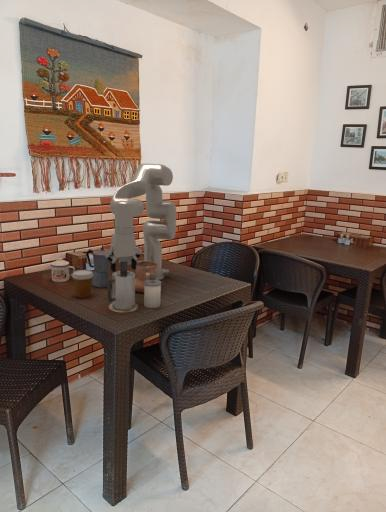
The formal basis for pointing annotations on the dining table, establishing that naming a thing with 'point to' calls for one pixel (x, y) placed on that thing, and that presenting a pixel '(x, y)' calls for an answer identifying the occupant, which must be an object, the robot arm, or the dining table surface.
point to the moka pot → (99, 267)
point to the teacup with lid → (60, 270)
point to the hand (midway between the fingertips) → (123, 270)
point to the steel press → (122, 291)
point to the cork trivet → (123, 311)
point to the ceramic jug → (144, 273)
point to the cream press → (152, 292)
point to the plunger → (123, 267)
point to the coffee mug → (125, 260)
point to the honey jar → (82, 283)
